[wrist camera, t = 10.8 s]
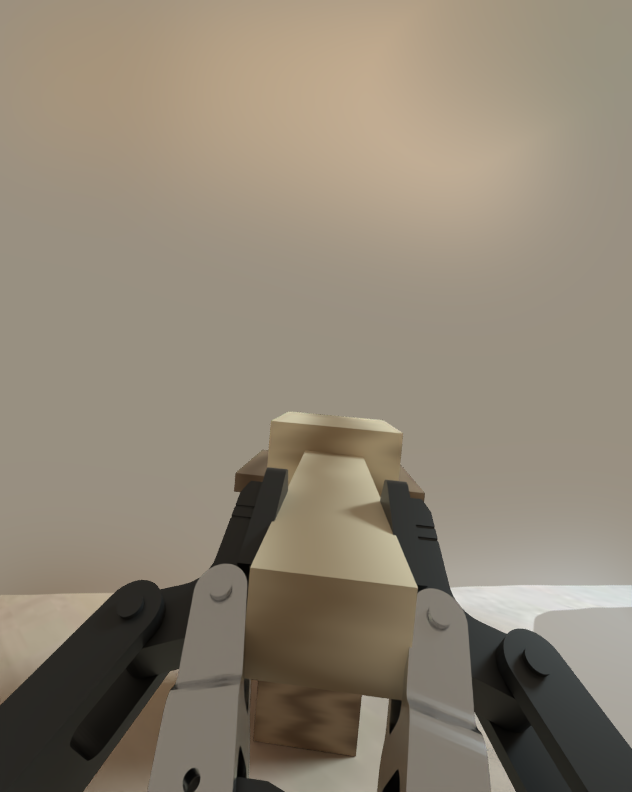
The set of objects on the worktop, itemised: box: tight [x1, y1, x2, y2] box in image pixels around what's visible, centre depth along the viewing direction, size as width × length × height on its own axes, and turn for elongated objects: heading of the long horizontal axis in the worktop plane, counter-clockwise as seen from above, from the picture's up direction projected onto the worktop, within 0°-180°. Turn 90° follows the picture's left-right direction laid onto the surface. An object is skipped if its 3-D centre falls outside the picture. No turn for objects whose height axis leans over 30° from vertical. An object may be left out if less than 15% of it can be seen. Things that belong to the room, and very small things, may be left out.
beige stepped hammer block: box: [244, 412, 418, 700], centre depth 17 cm, size 8×21×4 cm, turn 177°
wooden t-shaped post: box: [234, 450, 425, 756], centre depth 41 cm, size 20×13×32 cm, turn 87°
